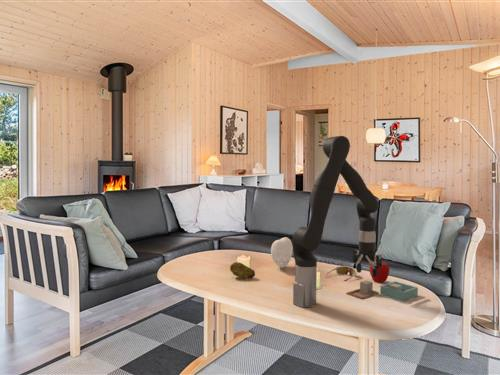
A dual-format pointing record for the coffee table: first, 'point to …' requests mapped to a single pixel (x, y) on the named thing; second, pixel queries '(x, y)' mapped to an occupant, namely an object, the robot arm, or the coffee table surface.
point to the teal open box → (402, 295)
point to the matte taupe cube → (396, 286)
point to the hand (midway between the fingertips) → (366, 274)
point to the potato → (242, 271)
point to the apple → (380, 273)
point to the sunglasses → (344, 271)
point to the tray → (361, 294)
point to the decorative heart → (281, 252)
